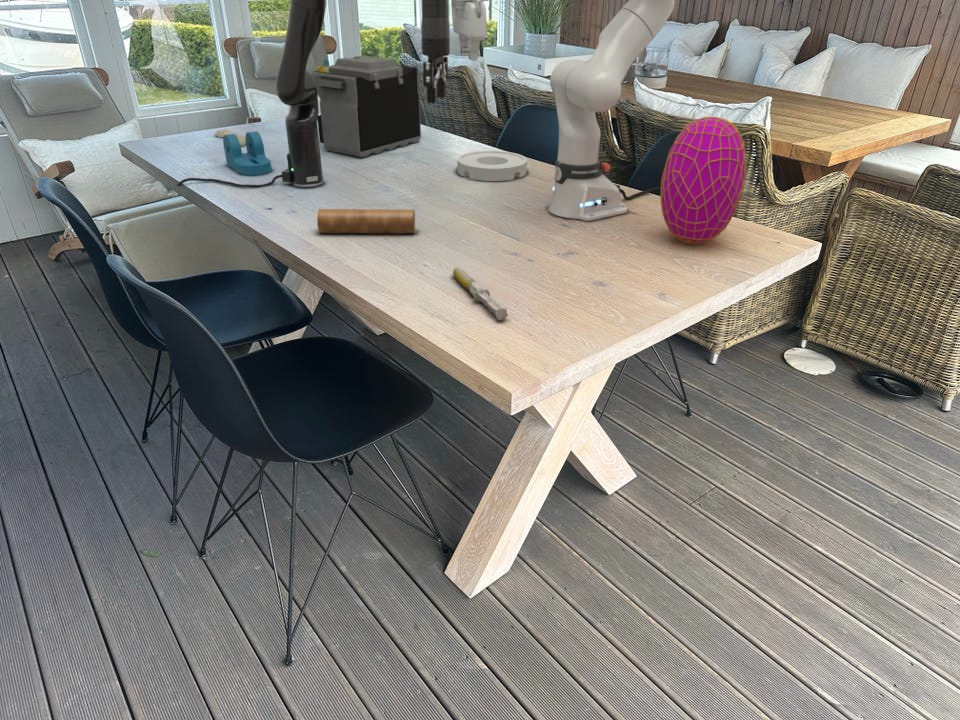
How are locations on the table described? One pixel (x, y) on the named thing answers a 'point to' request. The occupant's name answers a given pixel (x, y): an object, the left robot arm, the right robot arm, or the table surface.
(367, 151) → the grey cooler box
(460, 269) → the syringe
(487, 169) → the ashtray
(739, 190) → the decorative egg
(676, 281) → the table surface
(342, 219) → the rod
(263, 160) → the camera mount
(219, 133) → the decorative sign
